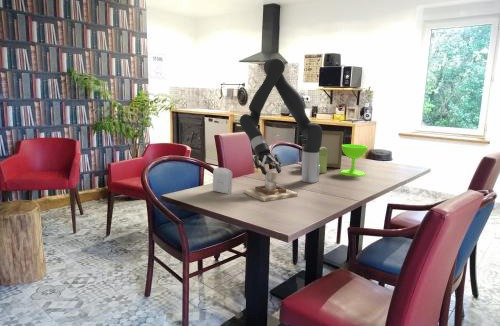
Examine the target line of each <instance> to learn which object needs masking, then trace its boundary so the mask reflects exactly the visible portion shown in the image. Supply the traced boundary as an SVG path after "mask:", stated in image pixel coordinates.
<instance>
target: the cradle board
mask: <svg viewBox="0 0 500 326" xmlns="http://www.w3.org/2000/svg"><path fill="white" fill-rule="evenodd" d="M264 188H265V184H264V185H258V186H255V187H253V188H247V189H244V190H243V193H244V194H247V195H248V196H250V197H253V198H255V199H257V200H260V201H261V202H265V203H266V202H268V201H269V202H270V201H276V200H283V199H288V198H289V199H290V198H294V197H298V196H299V193H298V192H296V191H293V190H290V189H287V188H286V187H282V186H279V185H277V184H276V189H278V190H279V192H276V193H275V191H274V190H272V191H267V190H265V189H264Z"/></svg>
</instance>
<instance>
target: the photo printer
mask: <svg viewBox="0 0 500 326" xmlns="http://www.w3.org/2000/svg"><path fill="white" fill-rule="evenodd" d="M212 191H213V192H218V193H223V194H226V195H230V194H232V192H233V171H232V170H230V169H229V168H225V167H216V168H213V172H212Z"/></svg>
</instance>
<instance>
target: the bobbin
mask: <svg viewBox="0 0 500 326" xmlns="http://www.w3.org/2000/svg"><path fill="white" fill-rule="evenodd" d="M266 171H267V174H266V175H264V176H265V178H264V185H265V188H264V189H265V190H267V191H272V190H274V191H275V193H276V192H279V190H278V189H276V185H277V177H278V175H277V174H278V172H277V171H276V170H275V171H274V170H266Z"/></svg>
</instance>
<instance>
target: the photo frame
mask: <svg viewBox="0 0 500 326" xmlns="http://www.w3.org/2000/svg"><path fill="white" fill-rule="evenodd" d="M343 141H344V131H337V130H336V131H335V130H322V142H321V147H325V148H327V149H328V155H327V168H336V169H337V168H339V169H341V168H342V157H343V150H342V145H344V143H343Z"/></svg>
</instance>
